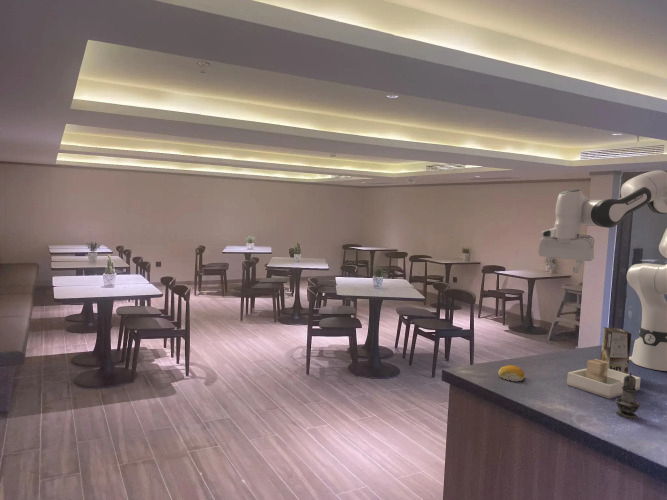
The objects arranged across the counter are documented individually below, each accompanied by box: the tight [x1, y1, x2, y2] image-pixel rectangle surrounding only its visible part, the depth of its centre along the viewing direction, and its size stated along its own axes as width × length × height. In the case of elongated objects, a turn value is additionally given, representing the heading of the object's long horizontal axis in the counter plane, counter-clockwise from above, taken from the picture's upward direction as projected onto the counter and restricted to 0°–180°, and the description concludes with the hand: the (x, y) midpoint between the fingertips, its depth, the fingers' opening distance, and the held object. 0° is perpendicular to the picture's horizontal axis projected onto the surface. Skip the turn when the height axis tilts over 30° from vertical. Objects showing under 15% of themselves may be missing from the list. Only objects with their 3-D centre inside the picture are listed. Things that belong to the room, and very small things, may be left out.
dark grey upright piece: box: [615, 372, 641, 420], centre depth 135 cm, size 6×6×12 cm
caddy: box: [566, 367, 641, 400], centre depth 158 cm, size 18×14×4 cm
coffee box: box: [600, 326, 633, 374], centre depth 172 cm, size 9×6×16 cm
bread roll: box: [497, 364, 525, 382], centre depth 164 cm, size 8×9×4 cm
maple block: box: [586, 358, 608, 384], centre depth 155 cm, size 5×4×8 cm
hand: (563, 270), depth 180 cm, fingers open, 8 cm apart
